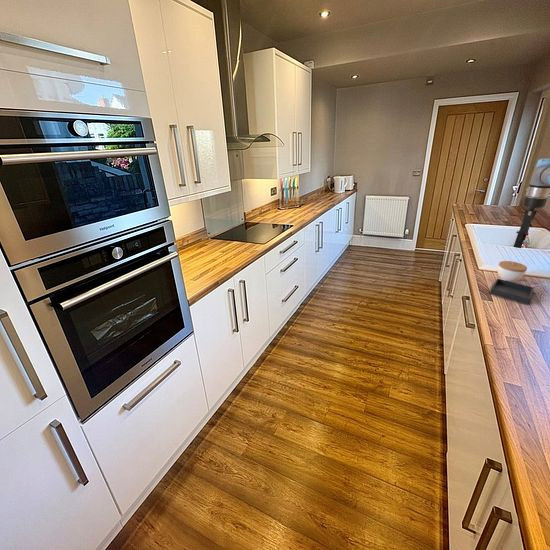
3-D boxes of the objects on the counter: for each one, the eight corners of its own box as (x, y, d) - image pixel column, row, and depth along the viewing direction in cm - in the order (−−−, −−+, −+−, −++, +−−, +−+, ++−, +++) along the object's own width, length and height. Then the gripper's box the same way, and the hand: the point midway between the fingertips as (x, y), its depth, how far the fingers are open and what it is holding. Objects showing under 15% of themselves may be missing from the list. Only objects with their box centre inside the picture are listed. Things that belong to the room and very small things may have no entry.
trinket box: (498, 283, 139) (505, 265, 135) (491, 273, 148) (497, 256, 144) (525, 285, 136) (532, 267, 132) (516, 276, 145) (523, 259, 141)
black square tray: (532, 292, 131) (534, 287, 129) (528, 304, 122) (530, 299, 121) (495, 283, 139) (497, 278, 138) (489, 293, 130) (491, 288, 129)
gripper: (528, 191, 135) (513, 235, 145) (521, 200, 119) (504, 249, 128) (549, 193, 131) (532, 238, 140) (545, 203, 114) (526, 253, 124)
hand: (519, 243), depth 134 cm, fingers open, 13 cm apart
